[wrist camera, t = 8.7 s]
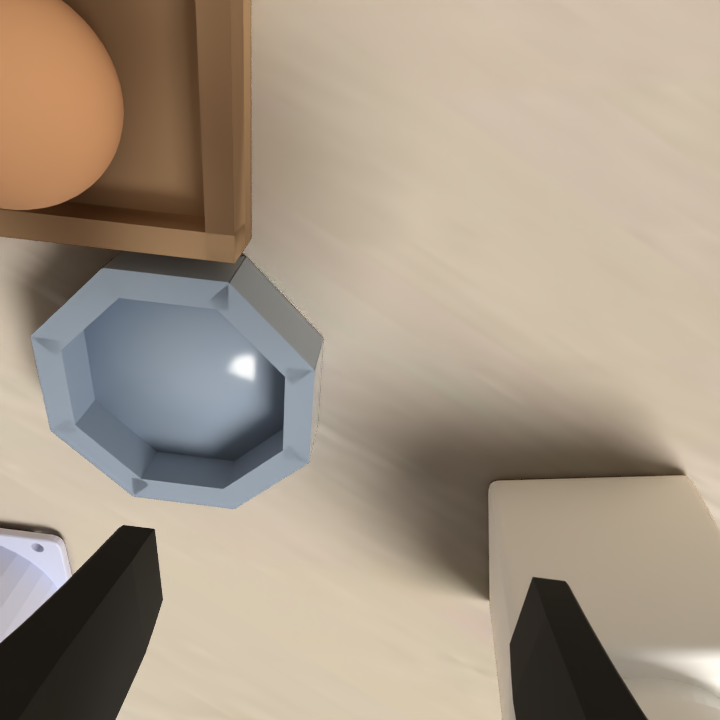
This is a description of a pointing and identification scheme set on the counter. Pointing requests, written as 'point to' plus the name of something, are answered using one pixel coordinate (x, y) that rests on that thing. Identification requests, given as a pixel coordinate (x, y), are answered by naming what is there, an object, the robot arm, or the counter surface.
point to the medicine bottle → (617, 580)
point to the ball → (53, 104)
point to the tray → (166, 135)
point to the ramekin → (182, 378)
